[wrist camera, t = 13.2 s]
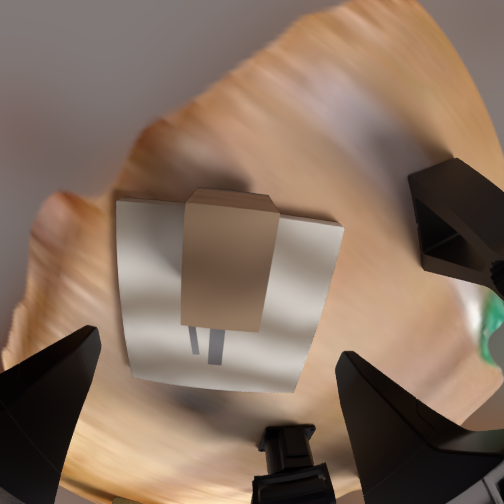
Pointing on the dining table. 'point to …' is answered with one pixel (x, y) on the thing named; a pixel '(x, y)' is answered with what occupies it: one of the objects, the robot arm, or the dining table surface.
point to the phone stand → (460, 224)
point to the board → (215, 340)
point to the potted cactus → (123, 501)
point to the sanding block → (226, 258)
